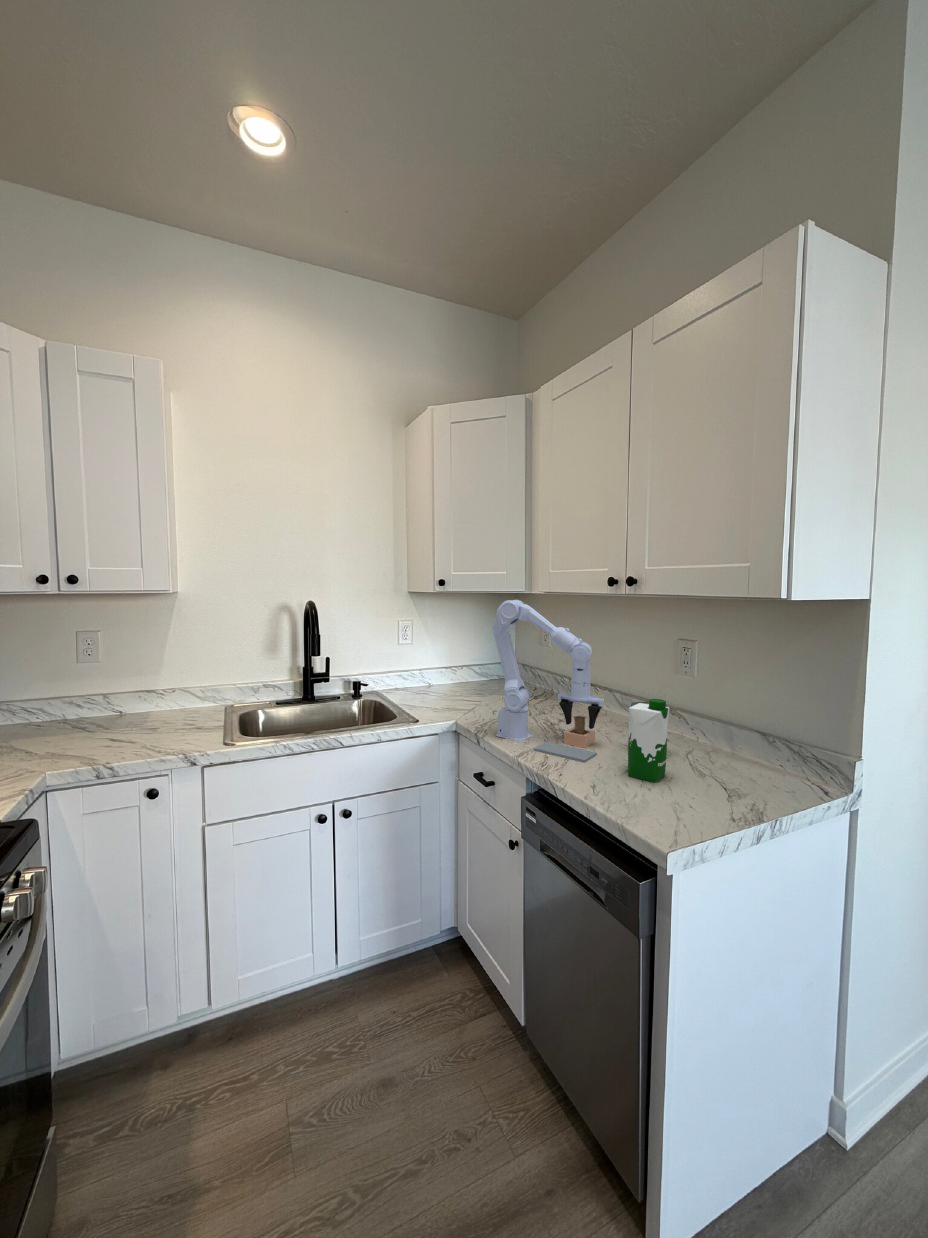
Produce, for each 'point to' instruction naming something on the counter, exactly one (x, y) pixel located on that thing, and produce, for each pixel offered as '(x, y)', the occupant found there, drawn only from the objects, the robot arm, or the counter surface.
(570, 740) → the square hollow frame
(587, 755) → the board
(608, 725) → the counter surface
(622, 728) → the counter surface
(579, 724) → the peg
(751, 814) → the counter surface
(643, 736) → the milk carton
